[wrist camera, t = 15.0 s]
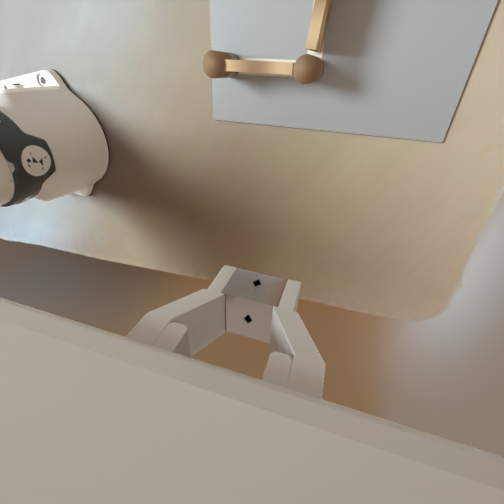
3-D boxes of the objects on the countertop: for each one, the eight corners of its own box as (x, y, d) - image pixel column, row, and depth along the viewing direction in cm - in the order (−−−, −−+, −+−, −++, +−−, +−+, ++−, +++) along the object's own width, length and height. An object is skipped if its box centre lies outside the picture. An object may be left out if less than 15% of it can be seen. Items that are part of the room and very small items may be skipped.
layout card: (213, 119, 37) (213, 119, 37) (206, -152, 25) (205, -154, 25) (442, 142, 31) (442, 142, 31) (577, -204, 19) (579, -207, 19)
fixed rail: (221, 76, 34) (203, 77, 30) (221, 52, 33) (202, 49, 29) (321, 83, 31) (316, 84, 27) (325, 56, 30) (320, 54, 26)
